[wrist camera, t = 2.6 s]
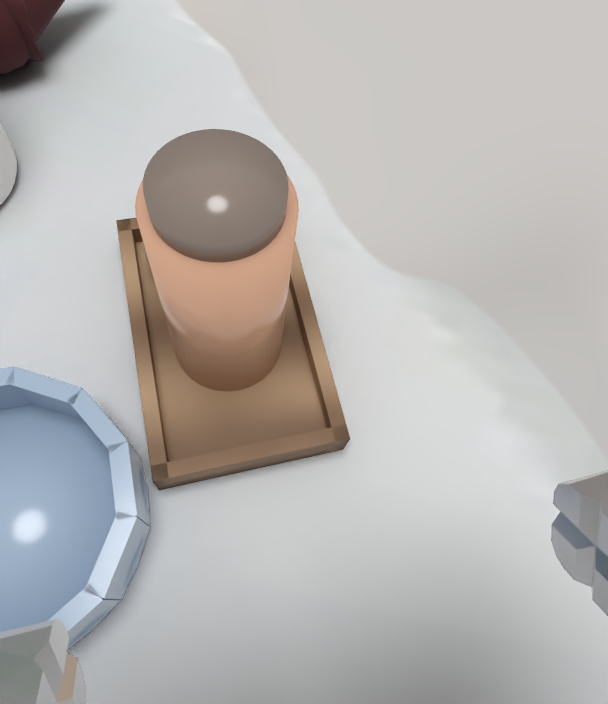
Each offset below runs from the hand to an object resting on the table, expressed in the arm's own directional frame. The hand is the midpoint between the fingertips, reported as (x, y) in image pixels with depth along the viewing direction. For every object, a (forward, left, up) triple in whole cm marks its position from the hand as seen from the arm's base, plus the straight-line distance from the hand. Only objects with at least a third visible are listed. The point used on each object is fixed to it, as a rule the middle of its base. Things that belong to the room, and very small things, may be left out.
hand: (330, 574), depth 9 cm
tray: (+13, 0, -18) cm, 22 cm away
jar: (+12, 0, -17) cm, 21 cm away
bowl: (+6, +11, -18) cm, 22 cm away
